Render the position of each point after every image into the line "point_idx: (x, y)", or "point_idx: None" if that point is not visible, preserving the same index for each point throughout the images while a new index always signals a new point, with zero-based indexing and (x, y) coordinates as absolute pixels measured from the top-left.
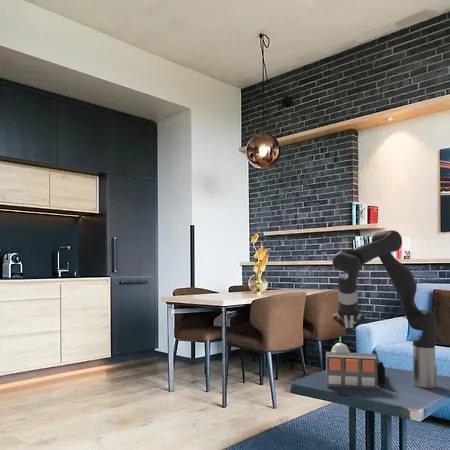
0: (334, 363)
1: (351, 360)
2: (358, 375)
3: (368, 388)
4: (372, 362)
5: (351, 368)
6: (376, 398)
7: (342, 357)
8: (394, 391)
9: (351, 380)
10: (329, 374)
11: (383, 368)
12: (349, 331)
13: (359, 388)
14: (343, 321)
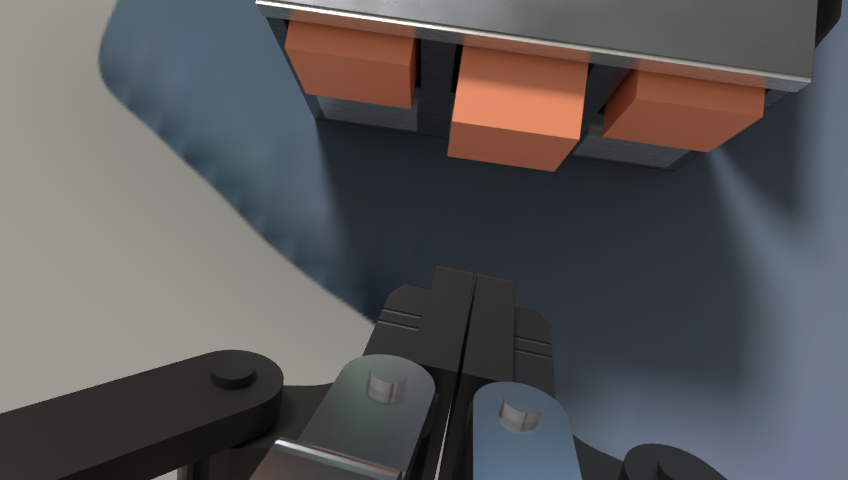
0: (348, 77)
1: (510, 131)
2: None
3: (616, 162)
4: (732, 122)
5: (500, 153)
6: (612, 415)
7: (432, 40)
8: (793, 211)
9: None
10: None
11: (825, 20)
12: (448, 423)
13: None
14: (256, 424)
